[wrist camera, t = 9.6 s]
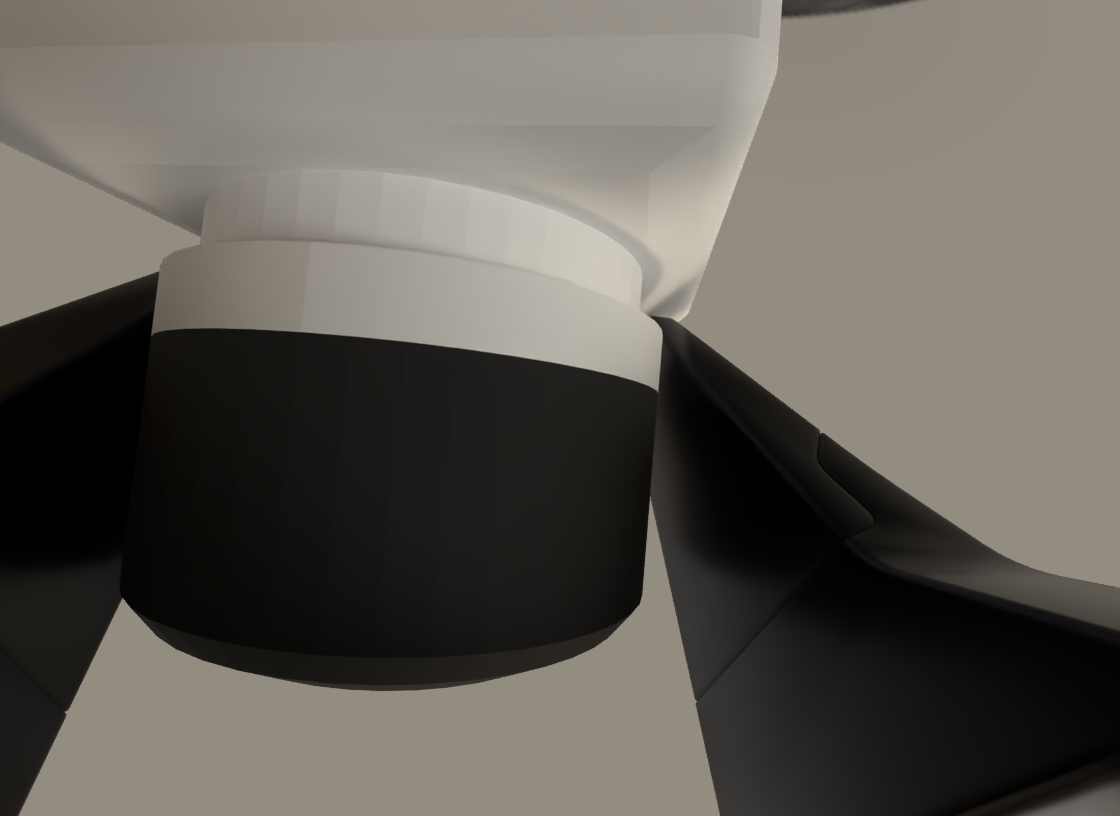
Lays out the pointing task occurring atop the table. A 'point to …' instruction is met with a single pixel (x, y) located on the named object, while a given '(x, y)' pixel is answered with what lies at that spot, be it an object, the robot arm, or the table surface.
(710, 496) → the robot arm
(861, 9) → the table surface
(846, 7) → the table surface
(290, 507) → the medicine bottle
